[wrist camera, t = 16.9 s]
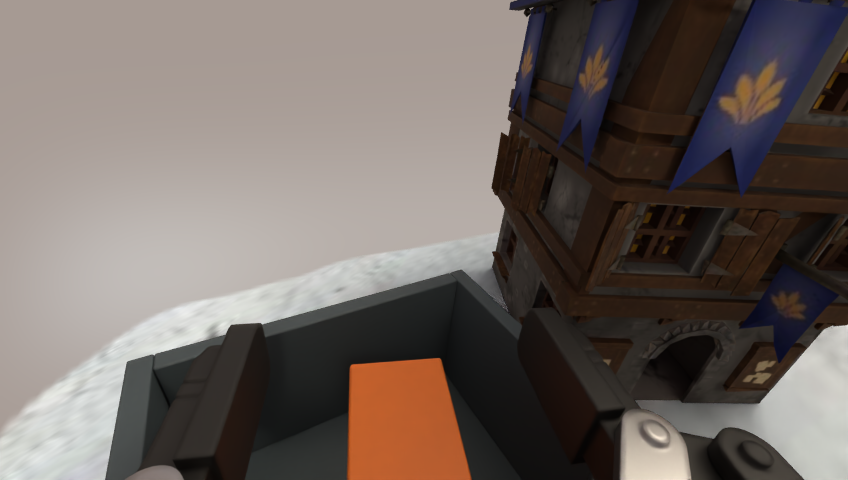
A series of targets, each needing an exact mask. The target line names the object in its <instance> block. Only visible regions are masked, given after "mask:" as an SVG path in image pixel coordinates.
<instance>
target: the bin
mask: <svg viewBox="0 0 848 480" xmlns="http://www.w3.org/2000/svg"><path fill="white" fill-rule="evenodd" d="M262 326H263V329H264V334H265V339H266V344H267V348H268V353H269V358H270V379H269V384H268V388H267V392H266V396H265V400H264V404H263V408H262V412H261V416H260V420H259V424H258V428H257V432H256V436H255V440H254V444H253V448H252V453H251V457H250V461H249V465H248V469H247V473H246V477H245V480H347V451H348V411H349V371H350V366H351V365H353V364H366V363H379V362H393V361H406V360H419V359H433V358H440V359H441V361H442V364H443V368H444V372H445V376H446V380H447V384H448V388H449V392H450V396H451V400H452V404H453V407H454V411H455V415H456V419H457V423H458V427H459V431H460V435H461V439H462V443H463V447H464V451H465V455H466V458H467V462H468V466H469V470H470V474H471V478H472V480H588V476H589V474H590V472H591V471H590V469H589V468H588V466H587V464H586V463H579V464H572V465H571V464H570V462H569V460H568V458H567V456H566V454H565V452H564V450H563V448H562V446H561V444H560V442H559V440H558V438H557V436H556V434H555V432H554V430H553V428H552V426H551V424H550V422H549V420H548V418H547V416H546V414H545V412H544V410H543V408H542V406H541V404H540V402H539V400H538V398H537V396H536V393H535V391H534V389H533V387H532V385H531V383H530V381H529V379H528V377H527V375H526V373H525V371H524V369H523V367H522V365H521V363H520V361H519V358H518V353H517V342H518V339H519V335H520V332H521V328H522V325H521V324H520V323H519V322H518V321H516V320H515V319H514V318H513V317H512V316H511V315H510V314H509V313H508V312H507V311H506V310H505V309H504V308H502V307H501V306H500V305H499V304H498V303H497V302H496V301H495V300H494V299H493V298H492V297H491V296H490V295H488V294H487V293H486V292H485V291H484V290H483V289H482V288H481V287H480V286H479V285H478V284H477V283H476V282H474V281H473V280H472V279H471V278H470V277H469V276H468V275H467V274H466V273H465V272H464V271H463V270H459V271H455V272H451V273H450V274H449V273H448V274H445V275H441V276H437V277H434V278H430V279H427V280H423V281H419V282H416V283H412V284H408V285H405V286H401V287H397V288H394V289H390V290H387V291H383V292H379V293H376V294H372V295H368V296H365V297H361V298H357V299H354V300H350V301H347V302H343V303H339V304H336V305H332V306H328V307H325V308H321V309H317V310H314V311H310V312H307V313H303V314H299V315H296V316H292V317H288V318H285V319H281V320H277V321H274V322H270V323H267V324H263V325H262ZM224 338H225V335H223V336H219V337H216V338H212V339H208V340H205V341H201V342H197V343H194V344H190V345H187V346H183V347H179V348H176V349H172V350H168V351H165V352H161V353H157V354H155V356H154V355H149V356H145V357H142V358H138V359H135V360H131V361H128V362H127V364H126V370H125V375H124V381H123V386H122V391H121V397H120V402H119V408H118V413H117V419H116V424H115V429H114V435H113V440H112V446H111V451H110V456H109V462H108V467H107V473H106V478H105V480H125V479H126V478H128V477H129V476H131V475H133V474H134V473H136V472H137V470H138V469H139V467H140V466H141V464H142V462H143V460H144V458H145V456H146V454H147V452H148V450H149V448H150V446H151V444H152V442H153V440H154V438H155V436H156V434H157V432H158V430H159V428H160V426H161V424H162V422H163V420H164V418H165V416H166V414H167V412H168V410H169V408H170V406H171V404H172V402H173V400H175V399H176V394H177V392H178V390H179V388H180V386H181V384H183V380H184V378H185V376H186V374H187V372H188V370H189V368H190V366H191V364H192V362H193V361H194V360H195V359H196V358H197V357H198V356H199V355H200V354H201V353H202V352H203V351H204V350H205V349H206V348H207V347H208V346H212V345H222V342H223V340H224Z"/></svg>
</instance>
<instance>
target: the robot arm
mask: <svg viewBox="0 0 848 480" xmlns="http://www.w3.org/2000/svg"><path fill="white" fill-rule="evenodd" d="M517 353H518V358H519V361H520V363H521V365H522V367H523V369H524V371H525V373H526V375H527V377H528V379H529V381H530V383H531V385H532V387H533V389H534V391H535V393H536V396H537V398H538V400H539V402H540V404H541V406H542V408H543V410H544V412H545V414H546V416H547V418H548V420H549V422H550V424H551V426H552V428H553V430H554V432H555V434H556V436H557V438H558V440H559V442H560V444H561V446H562V448H563V450H564V452H565V454H566V456H567V458H568V460H569V462H570V464H571V465H572V464H579V463H586V464H587V466H588V468H589V469H590V471H591V472H590V474H589V476H588V480H804V479H803V478H802V477H801V476H800V475H799V474H798V473H797V472H796V471H795V469H794V468H793V467H792V466H791V465H790V464H789V463H788V462H787V461H786V460H785V459H784V458H783V457H782V456H781V455H780V454H779V453H778V452H777V451H776V450H775V449H774V448H773V447H772V446H771V445H769V444H768V443H767V442H765V441H764V440H762V439H761V438H759V437H758V436H756V435H754V434H752V433H750V432H747V431H745V430H742V429H739V428H731V427H729V428H724V429H722V430H721V431H720V432H719V433H718V435H717V436H716V437H715V438H714V439H711V438H706V437H702V436H697V435H692V434H687V433H682V432H678V430H677V429H676V428H675V427H674V426H673V425H672V424H671V423H669V422H668V421H667V420H666V419H664V418H663V417H661V416H659V415H658V414H656V413H654V412H651V411H648V410H645V409H641V408H640V407H639V405H638V404H637V403H636V401H635V400H634V399H633V398H632V396H631V395H630V394H629V392H628V391H627V390H626V388H625V387H624V386H623V384H622V383H621V382H620V380H619V379H618V378H617V376H616V375H615V374H614V372H613V371H612V370H611V368H610V367H609V366H608V364H607V363H606V362H604V361H603V358H602V356H601V355H600V354H599V352H598V351H596V350H595V347H594V346H593V344H592V343H591V342H590V340H589V339H588V338H587V336H586V335H585V334H584V333H583V332H581V331H580V330H579V329H577V328H576V327H575V326H574V325H572V324H571V323H565V322H564V321H563V319H562V318H561V316H560V315H559V314H558V312H557V311H556V310H555V309H554V308H552V307H549V308H531V309H528V310H527V312H526V314H525V318H524V321H523V325H522V328H521V332H520V335H519V339H518V342H517ZM269 379H270V358H269V353H268V348H267V344H266V339H265V334H264V329H263V326H262V324H261V323H254V324H236V325H231V326H230V327H229V329H228V331H227V333H226V335H225V338H224V340H223V342H222V345H212V346H208V347H207V348H206V349H205V350H204V351H203V352H202V353H201V354H200V355H199V356H198V357H197V358H196V359H195V360H194V361H193V362H192V364H191V366H190V368H189V370H188V372H187V374H186V376H185V378H184V380H183V384H181V386H180V388H179V390H178V392H177V394H176V399H175V400H173V402H172V404H171V406H170V408H169V410H168V412H167V414H166V416H165V418H164V420H163V422H162V424H161V426H160V428H159V430H158V432H157V434H156V436H155V438H154V440H153V442H152V444H151V446H150V448H149V450H148V452H147V454H146V456H145V458H144V460H143V462H142V464H141V466H140V467H139V469H138V470H137V472H136V473H134V474H133V475H131V476H129V477H128V478H126V479H125V480H245V477H246V473H247V469H248V465H249V461H250V457H251V453H252V448H253V444H254V440H255V436H256V432H257V428H258V424H259V420H260V416H261V412H262V408H263V404H264V400H265V396H266V392H267V388H268V384H269Z"/></svg>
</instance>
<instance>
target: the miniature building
mask: <svg viewBox="0 0 848 480" xmlns="http://www.w3.org/2000/svg"><path fill="white" fill-rule="evenodd" d="M532 7H534V8H533V9H531V10H530V9H529V8H532ZM524 9H525V11H524V14H525V15H526V17H527V16H528V15H530V13H531V15H530V16H529V21H528V26H527V31H526V36H525V41H524V46H523V51H522V56H521V61H520V66H519V71H518V72H517V74H516V79H515V81H516V86H515V89H512V91H511V97H510V102H509V107H511V110H510V111H509V115H508V120H509V121H510V122H511V126H510V131H509V135H508V136H507V135H505V134H503V133H501V137H500V143H499V149H498V155H497V161H496V166H495V171H494V177H493V183H492V189H493V192H494V194H495V195H497V196H498V197H499V199H500V201H501V202H502V204H503V206H504V208H505V210H504V215H503V220H502V224H501V229H500V233H499V238H498V243H497V247H496V251H494V252H492V253H493V256H494V261H493V266H492V268H493V271H494V273H495V276H496V279H497V281H498V284H499V287H500V289H501V292H502V295H503V297H504V300H505V302H506V305H507V308H508V310H509V313H510V315H511V316H512V317H513V318H514V319H515V320H516V321H518V322H519V323H520V324H521V325H523V321H524V318H525V314H526V312H527V310H528V309H531V308H549V307H552V308H554V309H555V310H556V311H557V312H558V314H559V315H560V316H561V318H562V319H563V321H564V322H565V323H571V324H572V325H574V326H575V327H576V328H577V329H579V330H580V331H581V332H583V333H584V334H585V335H586V336H587V338H588V339H589V340H590V342H591V343H592V344H593V346H594V347H595V350H596V351H598V352H599V354H600V355H601V356H602V358H603V361H604V362H606V363H607V364H608V366H609V367H610V368H611V370H612V371H613V372H614V374H615V375H616V376H617V378H618V379H619V380H620V382H621V383H622V384H623V386H624V387H625V388H626V390H627V391H628V392H629V394H630V395H631V396H632V398H633V399H634V400H681V402H682V403H760V402H761V400H762V399H763V398H764V397H765V396H766V395H767V394H768V392H769V391H770V390H771V389H772V388H773V387H774V386H775V385H776V383H777V382H778V381H779V380H780V379H781V378H782V377H783V375H784V374H785V373H786V372H787V371H788V370H789V369H790V367H791V366H792V365H793V364H794V363H795V362H796V361H797V359H798V358H799V357H800V356H801V355H802V354H803V353H804V351H805V350H806V349H807V348H808V347H809V346H810V345H811V343H812V342H813V341H814V340H815V339H816V338H817V337H818V335H819V334H820V333H821V332H822V331H823V330H824V329H825V328H828V327H830V326H842V325H848V0H517V1H514V2H511V3H510V10H518V11H519V10H524ZM513 109H514V110H513ZM512 110H513V111H512Z"/></svg>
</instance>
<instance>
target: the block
mask: <svg viewBox="0 0 848 480" xmlns="http://www.w3.org/2000/svg"><path fill="white" fill-rule="evenodd" d="M347 480H472V478H471V474H470V470H469V466H468V462H467V458H466V455H465V451H464V447H463V443H462V439H461V435H460V431H459V427H458V423H457V419H456V415H455V411H454V407H453V404H452V400H451V396H450V392H449V388H448V384H447V380H446V376H445V372H444V368H443V364H442V361H441V359H440V358H433V359H419V360H406V361H393V362H379V363H366V364H353V365H351V366H350V371H349V411H348V451H347Z"/></svg>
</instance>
